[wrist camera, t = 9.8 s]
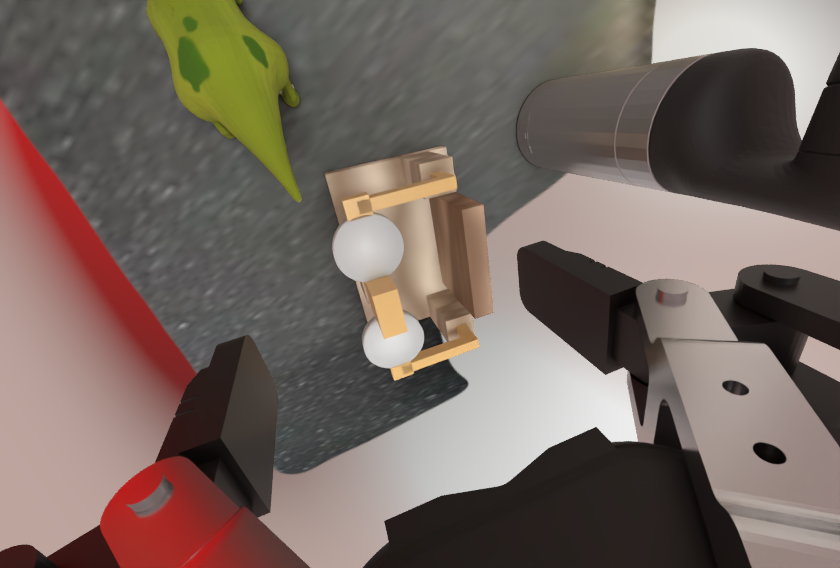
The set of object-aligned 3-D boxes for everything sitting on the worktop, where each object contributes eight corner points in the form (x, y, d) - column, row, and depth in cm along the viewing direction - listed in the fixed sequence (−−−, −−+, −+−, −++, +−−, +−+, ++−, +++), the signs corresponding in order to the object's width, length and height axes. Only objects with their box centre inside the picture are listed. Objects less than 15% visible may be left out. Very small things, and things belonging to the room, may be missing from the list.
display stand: (440, 146, 38) (486, 153, 29) (462, 299, 47) (502, 342, 37) (324, 172, 36) (333, 190, 26) (369, 329, 44) (388, 383, 35)
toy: (247, -7, 32) (116, -273, 17) (364, 202, 32) (335, 117, 17) (160, 34, 31) (-54, -207, 16) (280, 247, 31) (173, 200, 16)
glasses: (440, 167, 31) (470, 176, 25) (466, 333, 39) (492, 366, 34) (315, 199, 29) (320, 216, 23) (370, 367, 37) (382, 407, 32)
